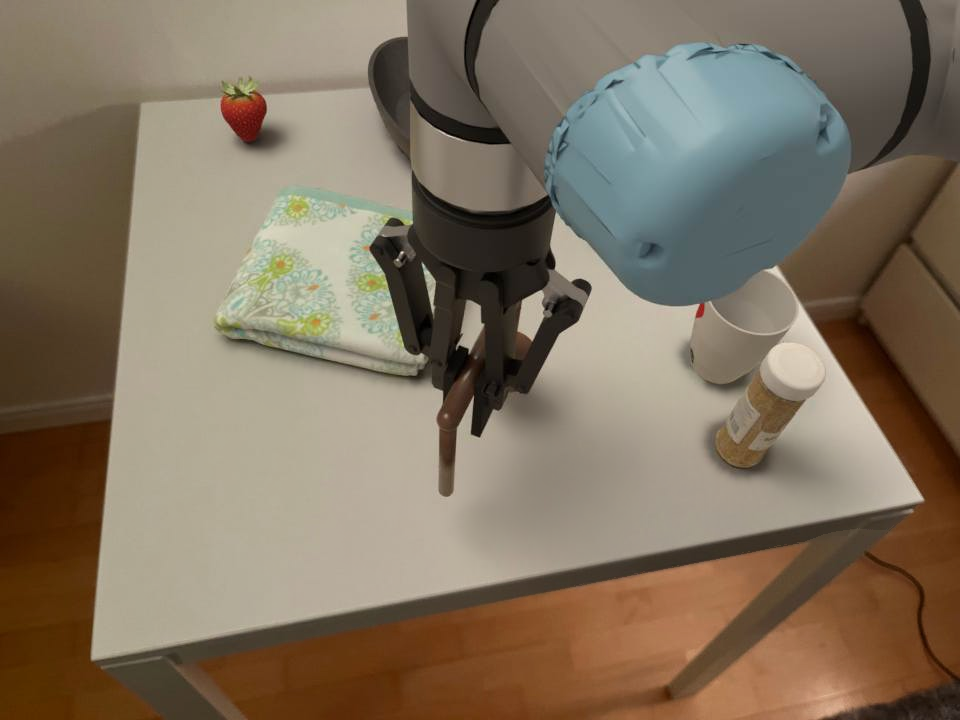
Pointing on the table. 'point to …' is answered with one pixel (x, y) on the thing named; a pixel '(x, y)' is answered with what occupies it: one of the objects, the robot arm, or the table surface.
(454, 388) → the bent wooden rod
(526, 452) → the table surface
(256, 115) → the fruit
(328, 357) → the towel
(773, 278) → the cup
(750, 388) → the sprinkles bottle
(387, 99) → the bowl
